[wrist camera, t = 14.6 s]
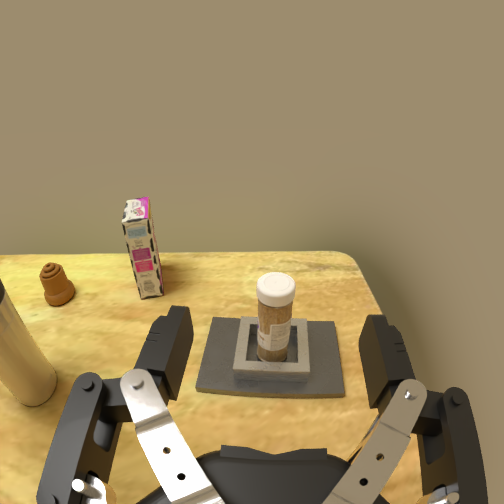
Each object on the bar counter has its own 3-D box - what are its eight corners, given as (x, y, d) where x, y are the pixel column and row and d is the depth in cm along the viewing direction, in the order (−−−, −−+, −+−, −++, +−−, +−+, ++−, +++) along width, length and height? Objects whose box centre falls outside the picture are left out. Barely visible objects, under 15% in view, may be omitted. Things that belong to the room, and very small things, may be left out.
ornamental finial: (42, 299, 52) (65, 282, 58) (56, 312, 49) (81, 292, 55) (28, 269, 48) (54, 252, 53) (41, 280, 45) (69, 261, 51)
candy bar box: (165, 295, 55) (149, 217, 46) (140, 300, 53) (120, 223, 45) (162, 264, 64) (149, 195, 55) (140, 268, 62) (125, 199, 54)
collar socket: (196, 391, 37) (192, 377, 35) (213, 321, 49) (211, 305, 47) (342, 397, 35) (348, 383, 34) (332, 326, 47) (336, 310, 45)
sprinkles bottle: (253, 345, 43) (252, 273, 36) (282, 339, 44) (288, 267, 37) (261, 369, 39) (262, 298, 32) (292, 362, 40) (301, 290, 33)
